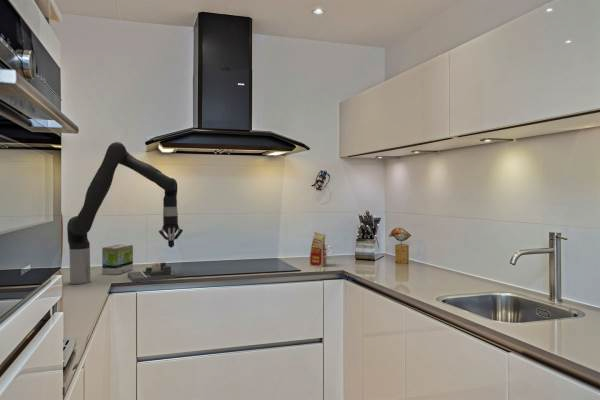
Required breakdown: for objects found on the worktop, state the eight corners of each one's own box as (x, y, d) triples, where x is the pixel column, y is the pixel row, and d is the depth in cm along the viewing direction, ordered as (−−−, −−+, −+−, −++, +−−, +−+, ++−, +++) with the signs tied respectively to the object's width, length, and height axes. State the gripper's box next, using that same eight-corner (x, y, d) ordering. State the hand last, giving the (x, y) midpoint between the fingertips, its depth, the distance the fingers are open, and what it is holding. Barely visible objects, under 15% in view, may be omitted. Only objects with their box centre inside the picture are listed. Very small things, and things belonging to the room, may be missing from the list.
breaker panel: (133, 282, 226) (132, 270, 226) (127, 276, 242) (127, 265, 241) (177, 278, 236) (177, 266, 236) (169, 272, 252) (169, 261, 252)
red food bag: (309, 266, 267) (308, 232, 266) (313, 263, 275) (313, 231, 275) (324, 267, 264) (323, 233, 263) (328, 264, 272) (327, 231, 272)
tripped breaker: (152, 273, 237) (152, 264, 237) (151, 272, 240) (151, 263, 240) (160, 273, 239) (160, 263, 239) (159, 272, 242) (159, 262, 242)
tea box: (118, 274, 246) (117, 247, 246) (101, 274, 248) (101, 247, 248) (133, 269, 261) (133, 244, 260) (118, 269, 263) (117, 243, 262)
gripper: (181, 214, 249) (181, 245, 250) (156, 215, 243) (157, 247, 243) (184, 215, 242) (185, 247, 243) (159, 216, 236) (160, 249, 237)
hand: (171, 247), depth 243 cm, fingers closed
